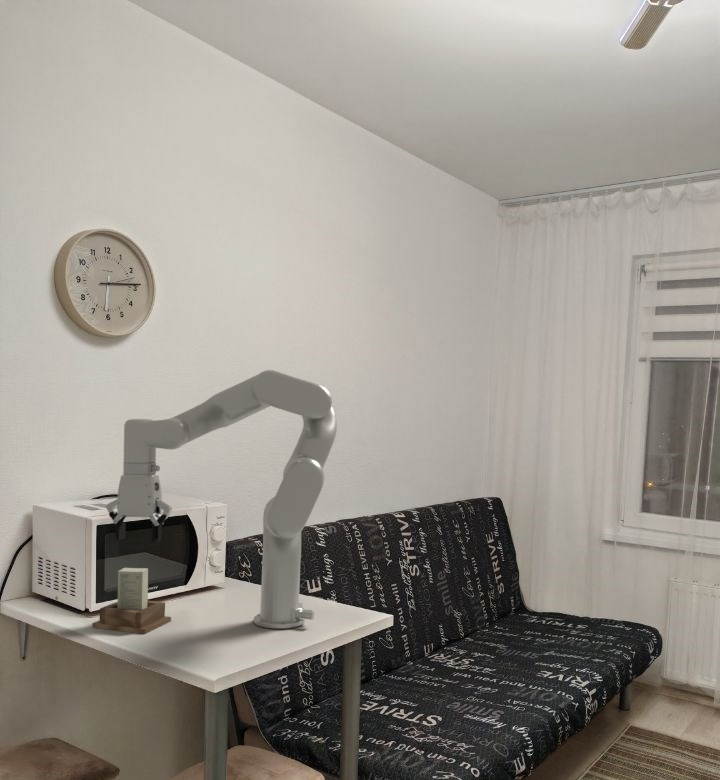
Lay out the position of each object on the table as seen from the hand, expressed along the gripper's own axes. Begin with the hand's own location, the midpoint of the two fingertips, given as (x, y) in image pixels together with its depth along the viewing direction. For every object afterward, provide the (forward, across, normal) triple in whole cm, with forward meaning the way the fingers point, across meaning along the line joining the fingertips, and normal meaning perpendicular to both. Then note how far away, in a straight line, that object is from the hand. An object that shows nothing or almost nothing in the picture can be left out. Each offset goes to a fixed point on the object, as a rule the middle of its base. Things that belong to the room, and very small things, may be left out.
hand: (138, 540), depth 187 cm
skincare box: (+19, +1, 0) cm, 19 cm away
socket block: (+20, +1, 0) cm, 20 cm away
